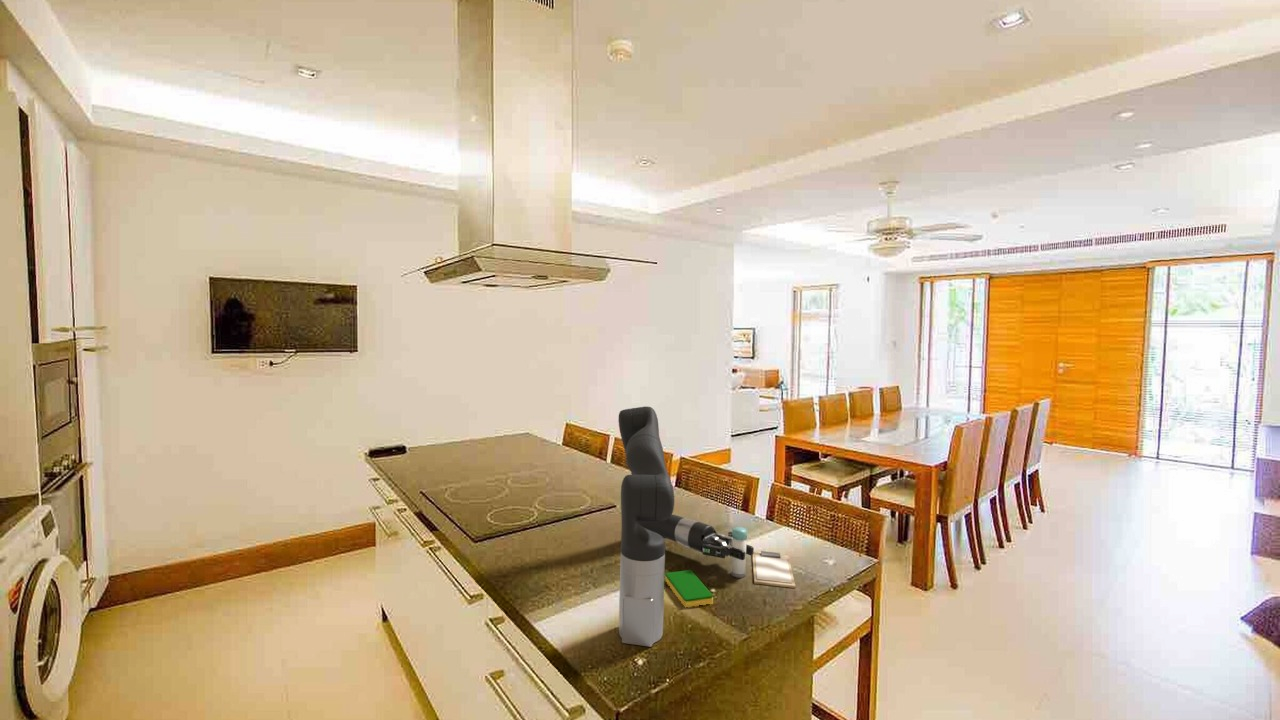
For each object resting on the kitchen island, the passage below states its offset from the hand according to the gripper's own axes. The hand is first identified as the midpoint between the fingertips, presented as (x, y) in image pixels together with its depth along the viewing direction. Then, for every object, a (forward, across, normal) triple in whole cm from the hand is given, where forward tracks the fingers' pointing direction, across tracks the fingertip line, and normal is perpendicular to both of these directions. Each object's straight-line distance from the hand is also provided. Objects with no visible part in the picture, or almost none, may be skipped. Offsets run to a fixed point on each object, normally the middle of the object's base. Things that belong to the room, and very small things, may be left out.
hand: (748, 553), depth 135 cm
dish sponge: (-7, -17, +7) cm, 19 cm away
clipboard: (+2, +9, +6) cm, 11 cm away
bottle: (-3, 0, +6) cm, 7 cm away
